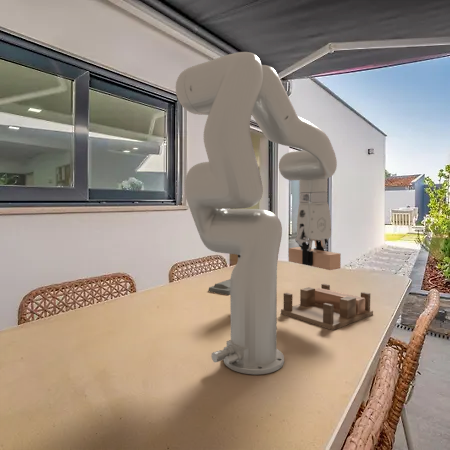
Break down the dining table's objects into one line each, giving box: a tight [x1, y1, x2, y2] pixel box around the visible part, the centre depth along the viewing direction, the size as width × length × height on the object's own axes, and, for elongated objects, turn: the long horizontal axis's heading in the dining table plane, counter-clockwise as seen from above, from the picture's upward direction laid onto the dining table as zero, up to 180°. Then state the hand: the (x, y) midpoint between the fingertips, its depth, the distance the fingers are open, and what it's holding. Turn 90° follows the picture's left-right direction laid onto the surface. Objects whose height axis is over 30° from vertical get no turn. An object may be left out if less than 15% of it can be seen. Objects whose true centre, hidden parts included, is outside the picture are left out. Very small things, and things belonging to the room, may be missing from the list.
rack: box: [280, 283, 374, 331], centre depth 102 cm, size 20×18×6 cm
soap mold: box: [207, 278, 231, 296], centre depth 135 cm, size 10×20×4 cm, turn 145°
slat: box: [288, 246, 342, 271], centre depth 97 cm, size 16×4×4 cm, turn 31°
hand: (313, 262), depth 97 cm, fingers closed on slat, 4 cm apart
